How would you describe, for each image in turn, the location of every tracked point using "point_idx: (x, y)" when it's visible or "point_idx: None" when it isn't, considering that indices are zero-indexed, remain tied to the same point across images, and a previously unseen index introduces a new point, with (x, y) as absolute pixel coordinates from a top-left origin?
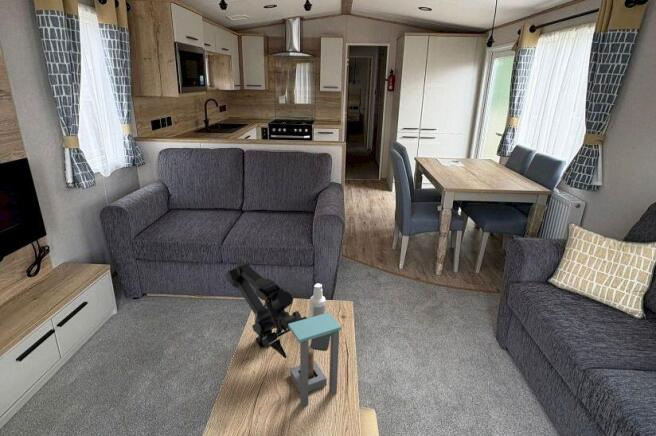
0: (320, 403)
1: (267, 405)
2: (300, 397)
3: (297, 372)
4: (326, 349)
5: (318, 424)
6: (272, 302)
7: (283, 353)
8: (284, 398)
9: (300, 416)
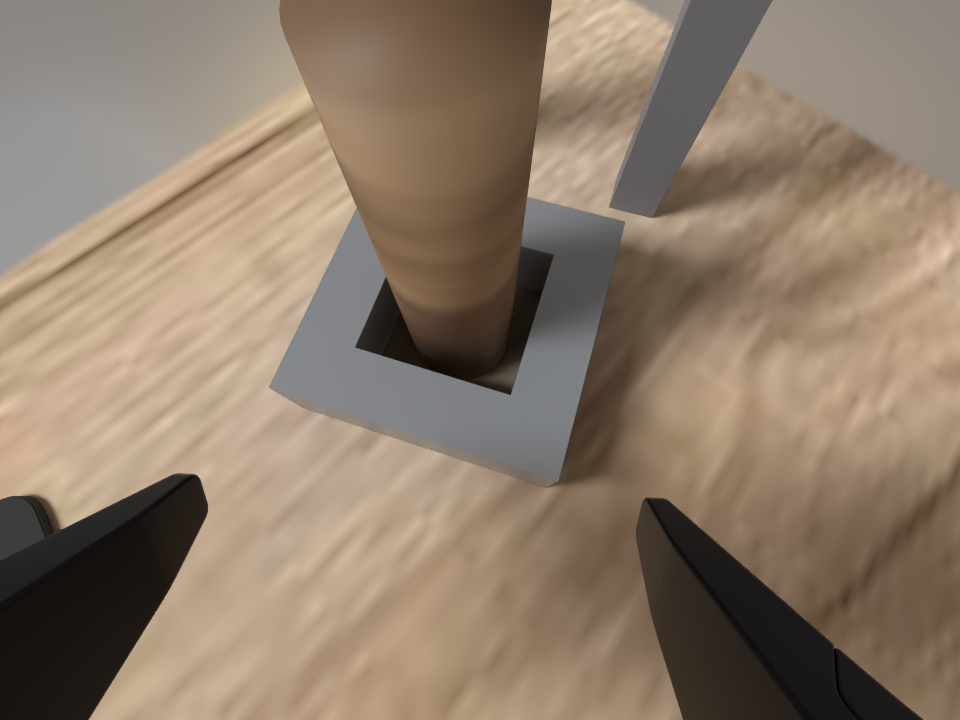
0: (546, 132)
1: (888, 354)
2: (670, 182)
3: (529, 378)
4: (21, 496)
5: (657, 52)
6: None
7: (729, 559)
8: (734, 317)
9: (717, 143)
